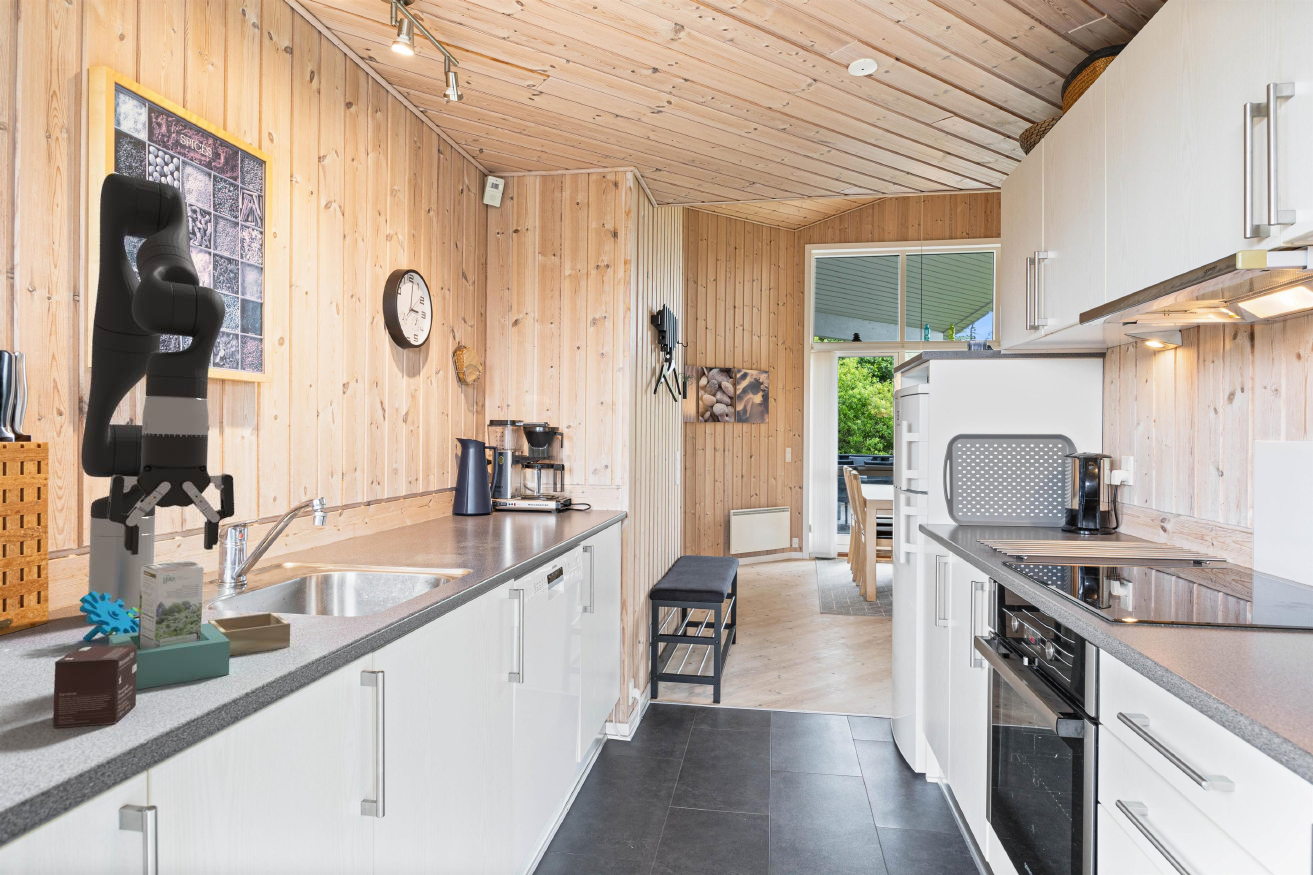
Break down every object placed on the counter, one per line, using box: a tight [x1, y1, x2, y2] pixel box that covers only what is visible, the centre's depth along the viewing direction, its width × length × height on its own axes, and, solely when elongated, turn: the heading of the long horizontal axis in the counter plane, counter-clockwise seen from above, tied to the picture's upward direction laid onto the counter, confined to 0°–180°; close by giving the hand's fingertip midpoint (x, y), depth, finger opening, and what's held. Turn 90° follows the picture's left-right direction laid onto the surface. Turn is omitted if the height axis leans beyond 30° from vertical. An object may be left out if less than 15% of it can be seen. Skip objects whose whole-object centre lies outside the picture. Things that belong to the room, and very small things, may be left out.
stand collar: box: [207, 612, 291, 657], centre depth 115 cm, size 9×9×4 cm
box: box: [52, 645, 137, 729], centre depth 85 cm, size 6×6×7 cm
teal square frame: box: [108, 622, 231, 691], centre depth 101 cm, size 12×12×4 cm
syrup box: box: [138, 560, 205, 650], centre depth 101 cm, size 6×6×14 cm
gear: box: [78, 591, 139, 643], centre depth 115 cm, size 11×6×10 cm
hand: (171, 551), depth 101 cm, fingers open, 8 cm apart
